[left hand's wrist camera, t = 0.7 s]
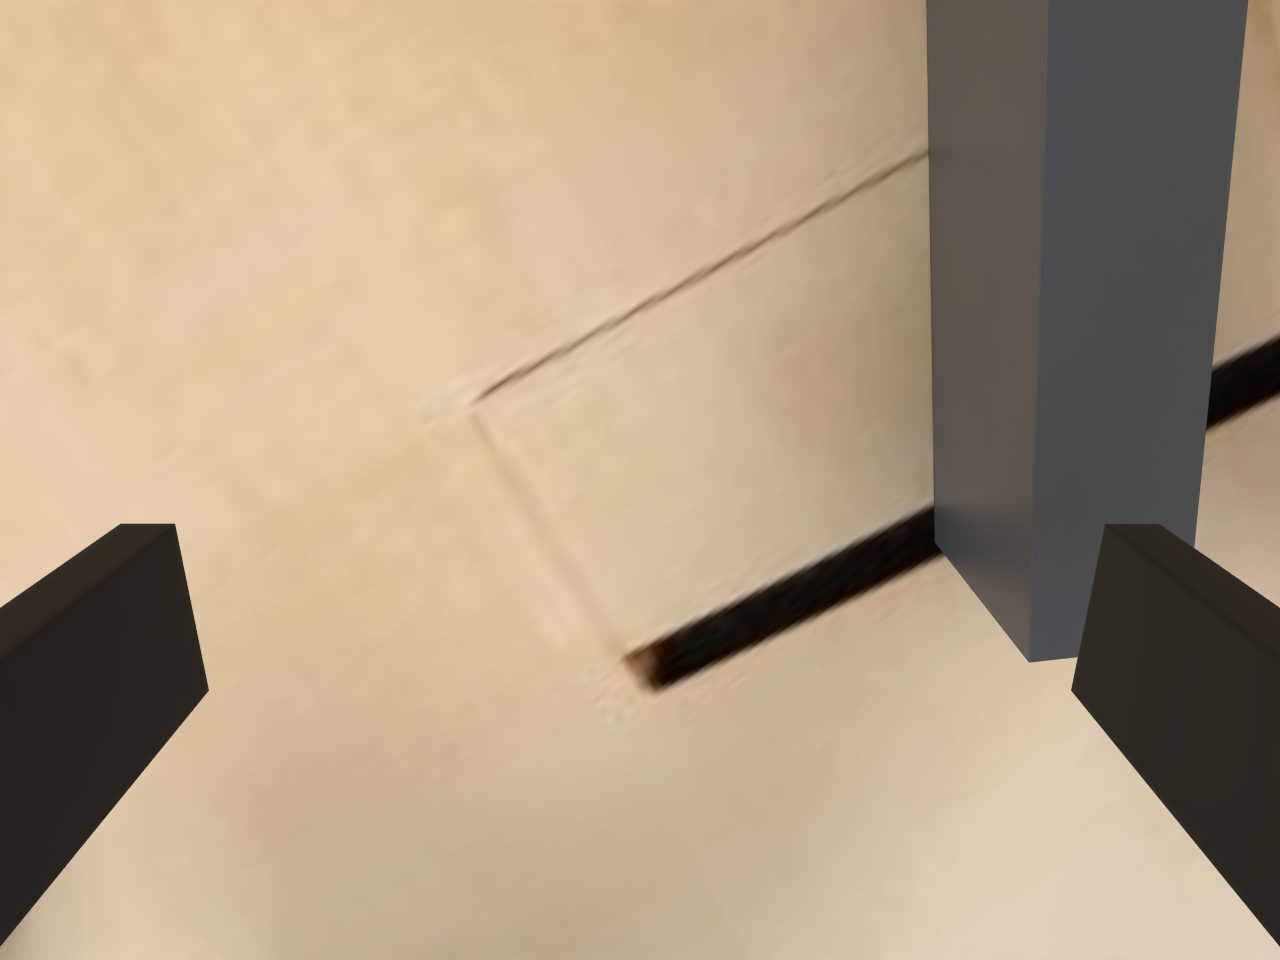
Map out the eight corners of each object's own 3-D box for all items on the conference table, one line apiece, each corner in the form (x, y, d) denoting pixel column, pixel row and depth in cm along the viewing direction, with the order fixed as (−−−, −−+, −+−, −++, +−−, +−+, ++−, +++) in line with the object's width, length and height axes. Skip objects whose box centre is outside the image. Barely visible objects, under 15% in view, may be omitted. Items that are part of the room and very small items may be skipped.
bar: (1052, 528, 37) (1185, 645, 28) (934, 542, 37) (1028, 663, 28) (1075, -127, 29) (1274, -259, 20) (924, -104, 29) (1053, -225, 20)
